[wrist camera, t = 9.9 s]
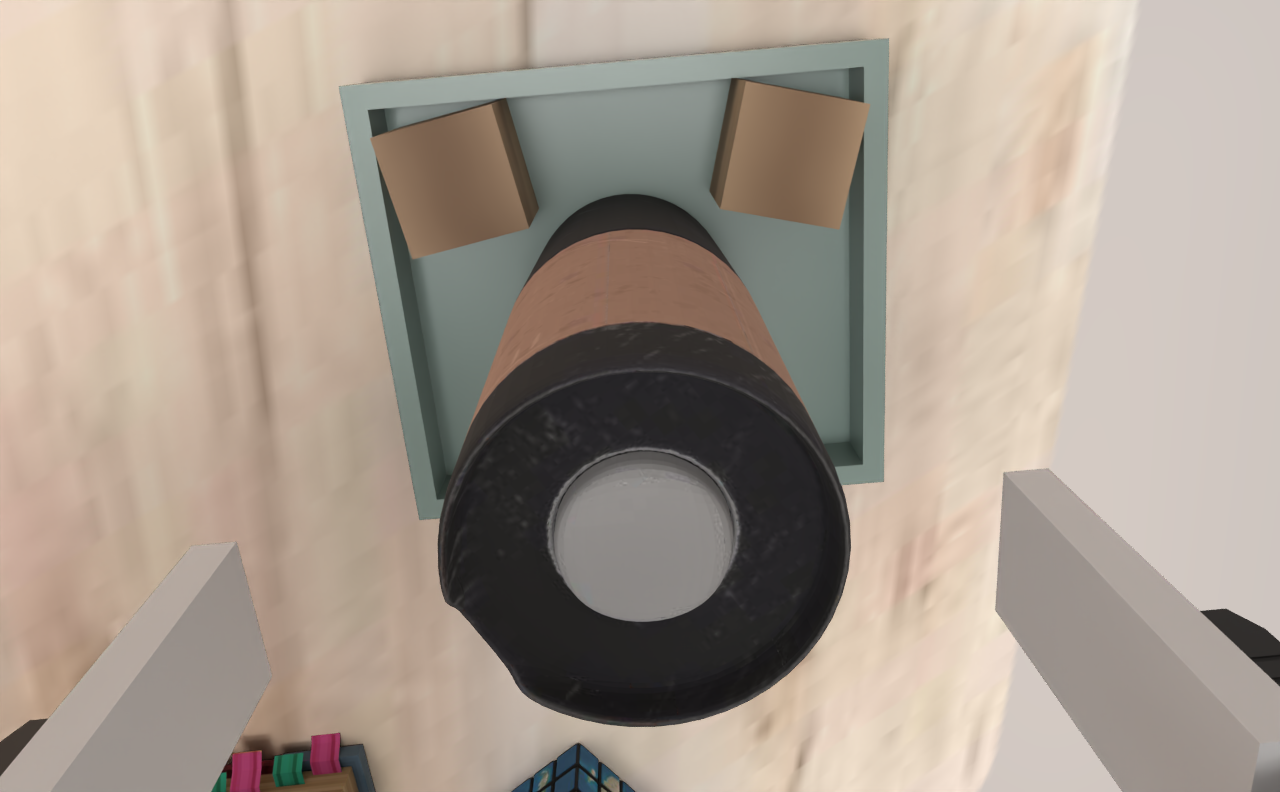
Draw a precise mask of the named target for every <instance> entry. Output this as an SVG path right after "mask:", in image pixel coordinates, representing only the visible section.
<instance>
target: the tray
mask: <svg viewBox="0 0 1280 792" xmlns="http://www.w3.org/2000/svg"><path fill="white" fill-rule="evenodd" d="M888 73H889V39H862V40H851V41H839V42H828V43H816V44H805V45H793V46H782V47H770V48H759V49H748V50H736V51H725V52H713V53H702V54H690V55H679V56H667V57H656V58H644V59H633V60H622V61H610V62H599V63H587V64H576V65H564V66H553V67H541V68H530V69H518V70H507V71H496V72H484V73H473V74H461V75H450V76H438V77H427V78H415V79H404V80H392V81H381V82H370V83H360V84H353V85H346V86H339V90H340V96H341V101H342V107H343V112H344V117H345V123H346V128H347V133H348V139H349V144H350V150H351V155H352V160H353V166H354V171H355V176H356V182H357V187H358V193H359V198H360V203H361V209H362V214H363V219H364V225H365V230H366V236H367V241H368V246H369V252H370V257H371V262H372V268H373V273H374V278H375V284H376V289H377V295H378V300H379V305H380V311H381V316H382V321H383V327H384V332H385V338H386V343H387V348H388V354H389V359H390V364H391V370H392V375H393V381H394V386H395V391H396V397H397V402H398V407H399V413H400V418H401V424H402V429H403V434H404V440H405V445H406V450H407V456H408V461H409V467H410V472H411V477H412V483H413V488H414V493H415V499H416V504H417V509H418V515H419V520H425V519H437V518H440V516H441V512H442V508H443V503H444V499H445V495H446V491H447V487H448V484H449V482H450V479H451V476H452V473H453V471H454V468H455V465H456V462H457V460H458V457H459V454H460V451H461V449H462V446H463V443H464V440H465V438H466V435H467V432H468V429H469V427H470V424H471V421H472V418H473V416H474V413H475V410H476V407H477V404H478V402H479V399H480V396H481V393H482V391H483V388H484V385H485V382H486V380H487V377H488V374H489V371H490V369H491V366H492V363H493V360H494V357H495V355H496V352H497V349H498V346H499V344H500V341H501V338H502V335H503V333H504V330H505V327H506V324H507V322H508V319H509V316H510V314H511V311H512V309H513V306H514V304H515V302H516V300H517V298H518V296H519V294H520V292H521V290H522V288H523V287H524V285H525V283H526V281H527V279H528V277H529V275H530V273H531V272H532V270H533V268H534V266H535V264H536V262H537V260H538V259H539V257H540V255H541V253H542V251H543V250H544V248H545V246H546V244H547V243H548V241H549V239H550V238H551V236H552V235H553V234H554V232H555V231H556V230H557V229H558V227H559V226H560V225H561V224H562V223H563V222H564V221H565V220H566V219H567V218H568V217H569V216H571V215H572V214H573V213H575V212H576V211H577V210H579V209H580V208H582V207H584V206H586V205H588V204H589V203H592V202H594V201H597V200H599V199H602V198H606V197H610V196H613V195H622V194H641V195H648V196H653V197H656V198H660V199H663V200H666V201H668V202H670V203H673V204H675V205H677V206H678V207H680V208H681V209H683V210H685V211H686V212H687V213H689V214H690V215H691V216H692V217H694V218H695V219H696V220H697V221H698V222H699V223H700V224H701V225H702V226H703V227H704V228H705V229H706V230H707V232H708V233H709V234H710V236H711V237H712V239H713V240H714V241H715V243H716V244H717V246H718V247H719V248H720V250H721V251H722V253H723V254H724V256H725V257H726V259H727V260H728V262H729V263H730V265H731V266H732V268H733V269H734V270H735V272H736V273H737V275H738V276H739V278H740V279H741V281H742V282H743V284H744V285H745V287H746V288H747V290H748V291H749V293H750V295H751V297H752V299H753V301H754V303H755V305H756V307H757V309H758V311H759V313H760V315H761V317H762V319H763V321H764V323H765V325H766V327H767V329H768V331H769V333H770V335H771V337H772V340H773V342H774V344H775V346H776V348H777V350H778V352H779V354H780V356H781V358H782V360H783V362H784V364H785V366H786V368H787V370H788V372H789V374H790V376H791V379H792V381H793V383H794V385H795V387H796V389H797V391H798V393H799V395H800V397H801V399H802V401H803V403H804V405H805V407H806V409H807V411H808V413H809V415H810V418H811V420H812V422H813V424H814V426H815V428H816V430H817V432H818V434H819V436H820V438H821V440H822V442H823V444H824V446H825V448H826V450H827V452H828V454H829V456H830V458H831V460H832V463H833V465H834V467H835V469H836V472H837V475H838V478H839V480H840V483H841V485H849V484H862V483H874V482H884V415H885V330H886V244H887V158H888ZM731 78H739V79H744V80H749V81H755V82H760V83H766V84H771V85H777V86H782V87H787V88H793V89H798V90H804V91H809V92H815V93H820V94H825V95H831V96H836V97H842V98H846V99H850V100H855V101H859V102H863V103H868V104H870V108H869V112H868V116H867V120H866V124H865V128H864V132H863V136H862V140H861V144H860V148H859V152H858V156H857V160H856V164H855V168H854V172H853V176H852V181H851V185H850V189H849V193H848V197H847V201H846V205H845V209H844V213H843V217H842V221H841V225H840V229H833V228H827V227H821V226H815V225H810V224H804V223H798V222H792V221H787V220H781V219H775V218H769V217H763V216H758V215H752V214H746V213H740V212H734V211H729V210H723V209H720V208H719V206H718V205H717V203H716V201H715V200H714V198H713V196H712V195H711V193H710V191H709V190H710V185H711V180H712V175H713V170H714V165H715V160H716V154H717V149H718V144H719V139H720V134H721V129H722V124H723V119H724V114H725V109H726V104H727V99H728V93H729V88H730V83H731ZM503 98H506V100H507V103H508V106H509V110H510V113H511V116H512V120H513V123H514V126H515V130H516V133H517V136H518V140H519V143H520V146H521V150H522V153H523V156H524V160H525V163H526V166H527V170H528V173H529V177H530V180H531V183H532V187H533V190H534V193H535V197H536V200H537V203H538V207H539V209H538V211H537V213H536V215H535V217H534V219H533V221H532V223H531V225H530V227H529V229H525V230H521V231H517V232H514V233H510V234H506V235H502V236H499V237H495V238H491V239H487V240H484V241H480V242H476V243H473V244H469V245H465V246H461V247H458V248H454V249H450V250H446V251H443V252H439V253H435V254H431V255H428V256H424V257H420V258H416V259H412V256H411V253H410V251H409V248H408V245H407V242H406V239H405V237H404V234H403V231H402V228H401V225H400V222H399V220H398V217H397V214H396V211H395V208H394V205H393V203H392V200H391V197H390V194H389V191H388V188H387V186H386V183H385V180H384V177H383V174H382V171H381V169H380V166H379V163H378V160H377V157H376V155H375V152H374V149H373V146H372V143H371V140H370V138H372V137H374V136H377V135H380V134H383V133H385V132H388V131H391V130H393V129H396V128H399V127H403V126H406V125H410V124H413V123H417V122H421V121H424V120H428V119H431V118H435V117H439V116H442V115H446V114H449V113H453V112H456V111H460V110H464V109H467V108H471V107H474V106H478V105H482V104H485V103H489V102H492V101H496V100H500V99H503Z"/></svg>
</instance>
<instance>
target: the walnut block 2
mask: <svg viewBox="0 0 1280 792" xmlns="http://www.w3.org/2000/svg"><path fill="white" fill-rule="evenodd" d="M869 108H870V104H868V103H863V102H859V101H855V100H850V99H846V98H842V97H836V96H831V95H825V94H820V93H815V92H809V91H804V90H798V89H793V88H787V87H782V86H777V85H771V84H766V83H760V82H755V81H749V80H744V79H739V78H731V83H730V88H729V93H728V99H727V104H726V109H725V114H724V119H723V124H722V129H721V134H720V139H719V144H718V149H717V154H716V160H715V165H714V170H713V175H712V180H711V185H710V190H709V191H710V193H711V195H712V196H713V198H714V200H715V201H716V203H717V205H718V206H719V208H720V209H723V210H729V211H734V212H740V213H746V214H752V215H758V216H763V217H769V218H775V219H781V220H787V221H792V222H798V223H804V224H810V225H815V226H821V227H827V228H833V229H840V225H841V221H842V217H843V213H844V209H845V205H846V201H847V197H848V193H849V189H850V185H851V181H852V176H853V172H854V168H855V164H856V160H857V156H858V152H859V148H860V144H861V140H862V136H863V132H864V128H865V124H866V120H867V116H868V112H869Z"/></svg>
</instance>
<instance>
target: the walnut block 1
mask: <svg viewBox="0 0 1280 792" xmlns="http://www.w3.org/2000/svg"><path fill="white" fill-rule="evenodd" d="M370 140H371V143H372V146H373V149H374V152H375V155H376V157H377V160H378V163H379V166H380V169H381V171H382V174H383V177H384V180H385V183H386V186H387V188H388V191H389V194H390V197H391V200H392V203H393V205H394V208H395V211H396V214H397V217H398V220H399V222H400V225H401V228H402V231H403V234H404V237H405V239H406V242H407V245H408V248H409V251H410V253H411V256H412V259H416V258H420V257H424V256H428V255H431V254H435V253H439V252H443V251H446V250H450V249H454V248H458V247H461V246H465V245H469V244H473V243H476V242H480V241H484V240H487V239H491V238H495V237H499V236H502V235H506V234H510V233H514V232H517V231H521V230H525V229H529V227H530V225H531V223H532V221H533V219H534V217H535V215H536V213H537V211H538V209H539V207H538V203H537V200H536V197H535V193H534V190H533V187H532V183H531V180H530V177H529V173H528V170H527V166H526V163H525V160H524V156H523V153H522V150H521V146H520V143H519V140H518V136H517V133H516V130H515V126H514V123H513V120H512V116H511V113H510V110H509V106H508V103H507V100H506V98H503V99H500V100H496V101H492V102H489V103H485V104H482V105H478V106H474V107H471V108H467V109H464V110H460V111H456V112H453V113H449V114H446V115H442V116H439V117H435V118H431V119H428V120H424V121H421V122H417V123H413V124H410V125H406V126H403V127H399V128H396V129H393V130H391V131H388V132H385V133H383V134H380V135H377V136H374V137H372V138H370Z"/></svg>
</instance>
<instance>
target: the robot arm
mask: <svg viewBox="0 0 1280 792" xmlns="http://www.w3.org/2000/svg"><path fill="white" fill-rule="evenodd" d="M995 610H996V612H997V613H998V615H999V616H1000V617H1001V619H1002V620H1003V622H1004V623H1005V625H1006V626H1007V627H1008V629H1009V630H1010V632H1011V633H1012V635H1013V636H1014V637H1015V639H1016V640H1017V642H1018V643H1019V645H1020V646H1021V647H1022V649H1023V650H1024V652H1025V653H1026V655H1027V656H1028V657H1029V659H1030V660H1031V662H1032V663H1033V664H1034V666H1035V668H1036V669H1037V670H1038V672H1039V673H1040V675H1041V676H1042V677H1043V679H1044V680H1045V682H1046V683H1047V685H1048V686H1049V688H1050V689H1051V690H1052V692H1053V693H1054V695H1055V696H1056V697H1057V699H1058V700H1059V702H1060V703H1061V705H1062V706H1063V708H1064V709H1065V710H1066V712H1067V713H1068V715H1069V716H1070V717H1071V719H1072V720H1073V722H1074V723H1075V725H1076V726H1077V728H1078V729H1079V730H1080V732H1081V733H1082V735H1083V736H1084V738H1085V739H1086V740H1087V742H1088V743H1089V745H1090V746H1091V748H1092V749H1093V751H1094V752H1095V753H1096V755H1097V756H1098V758H1099V759H1100V760H1101V762H1102V763H1103V765H1104V766H1105V767H1106V769H1107V771H1108V772H1109V773H1110V775H1111V776H1112V778H1113V779H1114V781H1115V782H1116V783H1117V785H1118V786H1119V788H1120V789H1121V790H1122V792H1280V642H1279V641H1278V640H1277V639H1276V638H1275V637H1274V636H1273V635H1271V634H1270V633H1269V632H1268V631H1267V630H1266V629H1264V628H1262V627H1260V626H1258V625H1257V624H1255V623H1253V622H1251V621H1249V620H1247V619H1245V618H1243V617H1241V616H1239V615H1237V614H1235V613H1233V612H1231V611H1229V610H1227V609H1217V610H1206V611H1199V610H1198V609H1197V608H1196V607H1195V606H1194V605H1193V604H1192V603H1191V602H1189V601H1188V600H1187V599H1186V598H1185V597H1184V596H1183V595H1182V594H1181V593H1180V592H1179V591H1178V590H1177V589H1176V588H1175V587H1173V586H1172V585H1171V584H1170V583H1169V582H1168V581H1167V580H1166V579H1165V578H1164V577H1163V576H1162V575H1161V574H1160V573H1159V572H1158V571H1157V570H1156V569H1154V568H1153V567H1152V566H1151V565H1150V564H1149V563H1148V562H1147V561H1146V560H1145V559H1144V558H1143V557H1142V556H1141V555H1140V554H1139V553H1137V552H1136V551H1135V550H1134V549H1133V548H1132V547H1131V546H1130V545H1129V544H1128V543H1127V542H1126V541H1125V540H1124V539H1123V538H1122V537H1120V536H1119V535H1118V534H1117V533H1116V532H1115V531H1114V530H1113V529H1112V528H1111V527H1110V526H1109V525H1108V524H1107V523H1106V522H1104V521H1103V520H1102V519H1101V518H1100V517H1099V516H1098V515H1097V514H1096V513H1095V512H1094V511H1093V510H1092V509H1091V508H1090V507H1089V506H1088V505H1086V504H1085V503H1084V502H1083V501H1082V500H1081V499H1080V498H1079V497H1078V496H1077V495H1076V494H1075V493H1074V492H1073V491H1071V489H1070V488H1068V487H1067V486H1066V485H1065V484H1064V483H1063V482H1062V481H1061V480H1060V479H1059V478H1058V477H1057V476H1056V475H1054V473H1053V472H1051V471H1050V470H1049V469H1037V470H1026V471H1015V472H1004V476H1003V492H1002V509H1001V525H1000V542H999V558H998V575H997V591H996V608H995ZM271 678H272V673H271V669H270V665H269V662H268V658H267V654H266V650H265V647H264V643H263V639H262V635H261V632H260V628H259V624H258V620H257V617H256V613H255V609H254V605H253V601H252V598H251V594H250V590H249V586H248V583H247V579H246V575H245V571H244V568H243V564H242V560H241V556H240V552H239V549H238V545H237V542H229V543H218V544H206V545H195V546H191V547H190V548H189V550H188V551H187V552H186V553H185V554H184V556H183V557H182V558H181V559H180V561H179V562H178V563H177V564H176V565H175V567H174V568H173V569H172V570H171V571H170V573H169V574H168V575H167V576H166V577H165V579H164V580H163V581H162V582H161V583H160V585H159V586H158V587H157V588H156V589H155V591H154V592H153V593H152V594H151V595H150V597H149V598H148V599H147V600H146V601H145V603H144V604H143V605H142V606H141V608H140V609H139V610H138V611H137V612H136V614H135V615H134V616H133V617H132V618H131V620H130V621H129V622H128V623H127V624H126V626H125V627H124V628H123V629H122V630H121V632H120V633H119V634H118V635H117V636H116V638H115V639H114V640H113V641H112V642H111V644H110V645H109V646H108V647H107V648H106V650H105V651H104V652H103V653H102V654H101V656H100V657H99V658H98V659H97V661H96V662H95V663H94V664H93V665H92V667H91V668H90V669H89V670H88V671H87V673H86V674H85V675H84V676H83V677H82V679H81V680H80V681H79V682H78V683H77V685H76V686H75V687H74V688H73V689H72V691H71V692H70V693H69V694H68V695H67V697H66V698H65V699H64V700H63V701H62V703H61V704H60V705H59V706H58V708H57V709H56V710H55V711H54V712H53V714H52V715H51V716H50V717H49V718H48V719H40V720H30V721H28V722H27V723H26V724H24V725H23V726H21V727H20V728H19V729H17V730H16V731H15V732H13V733H12V734H10V735H9V736H8V737H6V738H5V739H4V740H2V741H1V742H0V792H211V791H212V789H213V787H214V785H215V783H216V782H217V780H218V778H219V776H220V774H221V772H222V770H223V768H224V766H225V765H226V763H227V761H228V759H229V757H230V755H231V753H232V751H233V749H234V747H235V746H236V744H237V742H238V740H239V738H240V736H241V734H242V732H243V730H244V729H245V727H246V725H247V723H248V721H249V719H250V717H251V715H252V713H253V712H254V710H255V708H256V706H257V704H258V702H259V700H260V698H261V696H262V695H263V693H264V691H265V689H266V687H267V685H268V683H269V681H270V679H271Z"/></svg>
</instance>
